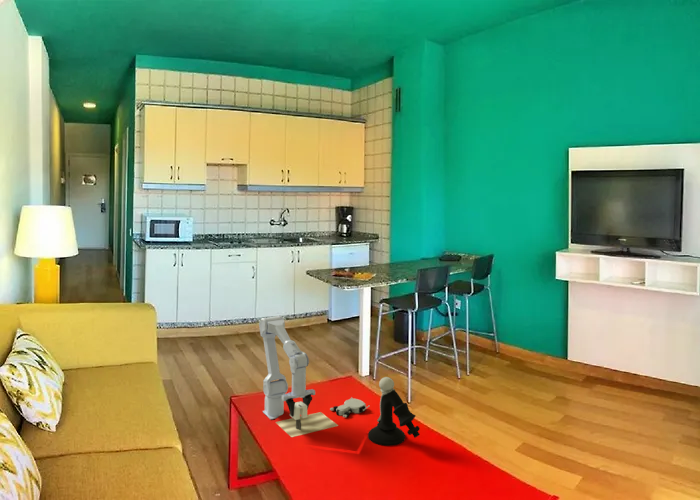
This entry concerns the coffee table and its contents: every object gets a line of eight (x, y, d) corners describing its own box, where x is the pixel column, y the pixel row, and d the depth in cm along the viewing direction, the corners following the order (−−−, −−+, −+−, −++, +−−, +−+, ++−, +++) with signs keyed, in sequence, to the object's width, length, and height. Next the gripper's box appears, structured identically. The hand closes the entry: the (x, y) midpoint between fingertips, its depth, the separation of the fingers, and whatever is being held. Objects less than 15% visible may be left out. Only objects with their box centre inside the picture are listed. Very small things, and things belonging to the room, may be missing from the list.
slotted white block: (289, 415, 219) (289, 403, 218) (301, 412, 222) (301, 401, 221) (295, 420, 214) (295, 408, 214) (307, 417, 217) (307, 405, 216)
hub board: (275, 424, 224) (275, 414, 223) (320, 414, 235) (320, 404, 235) (291, 439, 210) (291, 428, 210) (338, 427, 222) (338, 417, 221)
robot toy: (345, 424, 228) (371, 413, 237) (345, 414, 227) (370, 403, 237) (328, 414, 237) (353, 404, 247) (327, 405, 237) (353, 395, 246)
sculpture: (384, 425, 225) (385, 369, 222) (429, 444, 209) (432, 383, 206) (360, 436, 214) (361, 377, 211) (406, 457, 198) (408, 393, 195)
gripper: (286, 388, 209) (286, 421, 211) (318, 382, 217) (318, 414, 218) (279, 383, 215) (279, 414, 217) (310, 377, 223) (310, 408, 224)
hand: (298, 414), depth 218 cm, fingers closed on slotted white block, 5 cm apart
